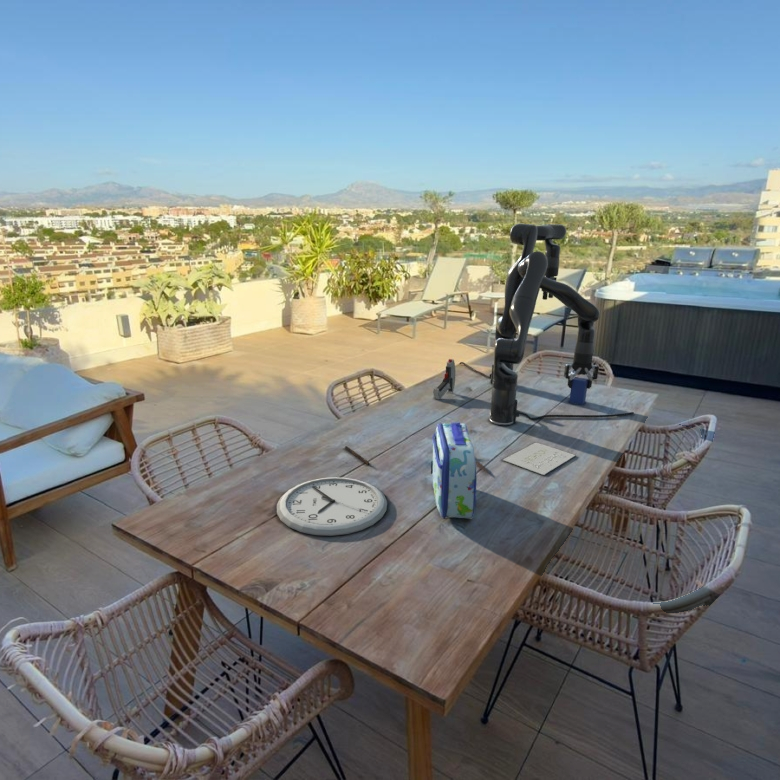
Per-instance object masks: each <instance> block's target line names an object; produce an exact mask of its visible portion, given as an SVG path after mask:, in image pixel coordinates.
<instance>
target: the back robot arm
mask: <svg viewBox="0 0 780 780" xmlns="http://www.w3.org/2000/svg"><path fill="white" fill-rule="evenodd" d="M566 235H567V228H566V227H565V225H563V224H542V225H535V224H529V223H516V224H514V225H513V226H512V228H511V229H510V232H509V239H510V242H511V243H512V244H514V245H518V246H523V247H522V251H521V254H520V256H519V258H518V259H517V261H516V262H515V263H514V264H513V265H512V266H511V267H510V269H509V270H508V272H507V275H506V279H505V285H504V308H503V313H502V315H501V317H499V318H498V319H497V321H496V323H495V331H494V332H495V333H494V344H495V343H496V341H497V339H499V338H505V339H514V340H515V335H517V330H516V327H515V325H514V323H513V321H512V319H511V316H510V306H511V303H512V300H513V297H514V295H515V293H516V291H517V289H518V288H519V286H520V285H521V283H522V281H523V280H524V278H523V277H522V276H521V275H520V274H519V272H518V265H519V263H520V262H521V261H522V260H523V259H525V258H526V257H527V256H528V255H529V254H531V253H533V252H535V251H534V250H535V247H536V244H537V241H538V242H539V241H542V242H543V241H544V245H545V251H544V254H545V256H546V258H547V261H548V266H547V269H546V272H545V274H544V276H545V277H547V278H549V279H551V280H554V281H557V280H558V279H557V277H558V276H559V268H560V257H561V245H559V244H557V243H554V240H557V241H559V240H563V239H564V238H565V236H566ZM540 290H541V292H542V300H545V301H546V300H548V299H553V298H554V296H553V295H551V294H549V293H548V292H546V291H544V290H543V289H541V288H540ZM458 364H459V365H464V366H465V367H467V368H468V369H470V370H471V371H472V372H474V373H477V374H480V375H481V376H483V377H485V378H487V379H490V384H492V385H493V368H494V363H493V364H492V365H491V373H489V376H488V375H486V374H485V373H483V372H481V371H479V370H477V369H474V368H472V367H471V366H470V365H468V364H466V363H465V362H464V361H461V362H459V363H458ZM504 364H505V366H506V367H507V368H509V369H510V370H512V371H514V364H510V363H504Z"/></svg>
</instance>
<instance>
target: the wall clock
mask: <svg viewBox="0 0 780 780" xmlns="http://www.w3.org/2000/svg"><path fill="white" fill-rule="evenodd" d="M387 509H388V500H387V498H386V496H385V494H384V493H383V492H382V491H381V490H380V489H379V488H377V487H376V486H374V485H372V484H371V483H369V482H365V481H362V480H359V479H355V478H349V477H338V476H337V477H335V476H333V477H332V476H331V477H322V478H317V479H312V480H307V481H305V482H302V483H299V484H297V485H295V486H293V487H292V488H290V489H288V490H287V491H286V492H285V493H284V494H283V495H281V496H280V498H279V499H278V502H277V503H276V515H277V517H278V518H279V520H280V521H281V522H282V523H283V524H285V525H286V526H287V527H288V528H290V529H293V530H295V531H297V532H299V533H303V534H308V535H312V536H327V537H328V536H329V537H331V536H332V537H333V536H342V535H350V534H352V533H356V532H361V531H363V530H366V529H368V528H369V527H372V526H373V525H375V524H376V523H378V522H379V521H380V520H381V519H382V518H383V517H384V516H385V514H386V512H387Z"/></svg>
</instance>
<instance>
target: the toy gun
mask: <svg viewBox="0 0 780 780" xmlns="http://www.w3.org/2000/svg"><path fill="white" fill-rule="evenodd" d="M455 384H456V364H455V359H453V358H448V360H447V362H446V366H445V373H444V377H443V379H442V382H441V383H440V384H438V386H437V387H434V388H433V399H435V400H441V398H443V396H444V395H446V393H452V394H453V393H454V390H455Z"/></svg>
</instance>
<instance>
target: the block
mask: <svg viewBox="0 0 780 780" xmlns="http://www.w3.org/2000/svg"><path fill="white" fill-rule="evenodd" d="M572 380H573V381H572V388H570V391H569V392H570V394H569V400H568V403H571V404H575V405H579V406H583V405H585V403H586V400H587V399H586V398H587V391H588V388H587V385H588V378H582V377H576V376H575V377H574V378H573V379H572Z"/></svg>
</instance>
